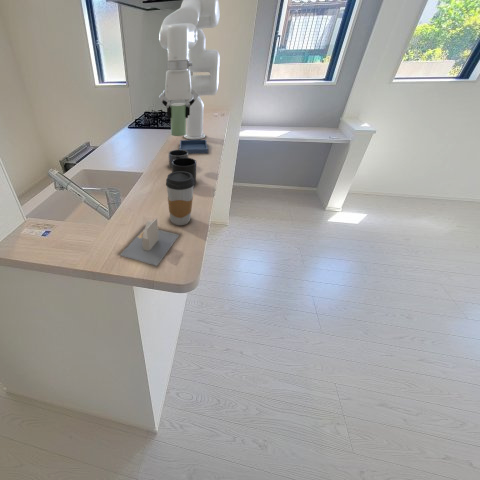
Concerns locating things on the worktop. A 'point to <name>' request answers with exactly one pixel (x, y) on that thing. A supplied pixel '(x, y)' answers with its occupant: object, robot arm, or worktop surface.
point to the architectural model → (150, 244)
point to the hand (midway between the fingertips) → (178, 117)
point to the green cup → (178, 119)
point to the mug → (185, 166)
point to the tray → (194, 146)
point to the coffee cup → (180, 196)
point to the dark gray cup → (177, 155)
